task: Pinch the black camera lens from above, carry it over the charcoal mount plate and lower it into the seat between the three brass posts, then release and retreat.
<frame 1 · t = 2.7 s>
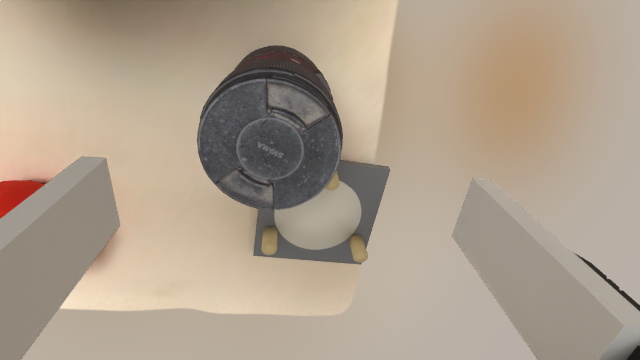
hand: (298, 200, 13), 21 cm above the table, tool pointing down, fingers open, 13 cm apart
camera lens: (278, 86, 31), on the table
mount: (317, 210, 38), on the table
tomato: (49, 213, 35), on the table
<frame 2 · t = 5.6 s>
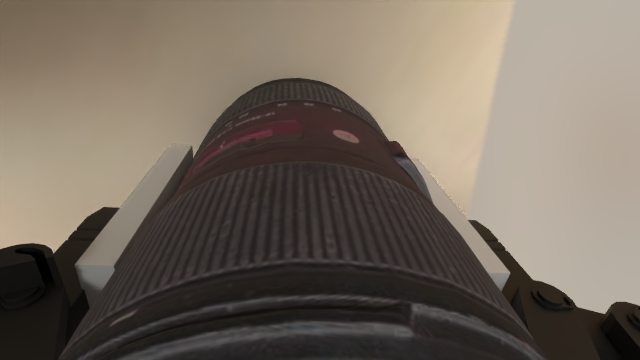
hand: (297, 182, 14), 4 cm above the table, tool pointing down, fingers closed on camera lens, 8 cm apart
camera lens: (293, 144, 17), on the table, touching gripper
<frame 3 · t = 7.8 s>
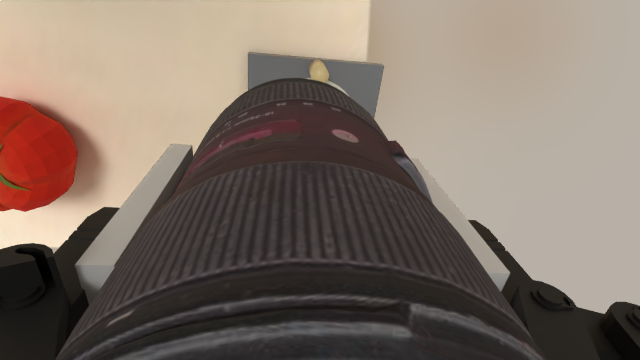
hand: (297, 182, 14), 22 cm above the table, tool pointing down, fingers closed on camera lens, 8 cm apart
camera lens: (293, 144, 17), point 18 cm above the table, touching gripper
mount: (311, 121, 36), on the table
tomato: (34, 140, 34), on the table
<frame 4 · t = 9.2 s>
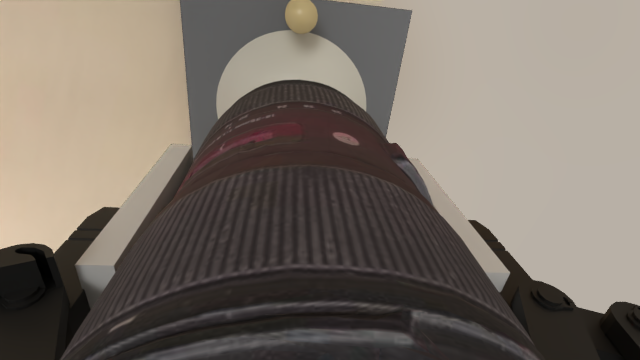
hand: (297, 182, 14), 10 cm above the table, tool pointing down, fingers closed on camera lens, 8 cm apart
camera lens: (293, 145, 17), point 6 cm above the table, touching gripper
mount: (292, 107, 22), on the table
when the fingers open (6 cm above the table, at t = 10.4 s): camera lens drops 2 cm, resting on mount.
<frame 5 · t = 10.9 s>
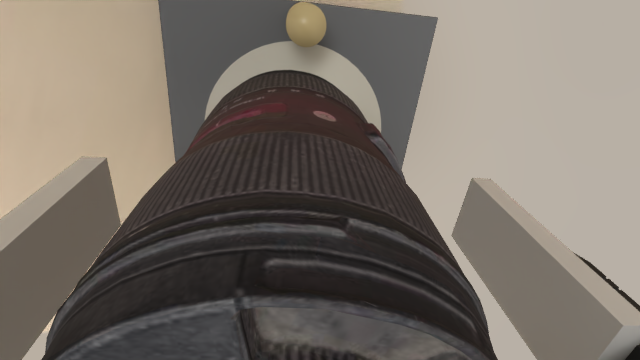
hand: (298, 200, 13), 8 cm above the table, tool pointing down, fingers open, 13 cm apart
camera lens: (287, 132, 19), point 1 cm above the table, touching mount
mount: (294, 129, 19), on the table
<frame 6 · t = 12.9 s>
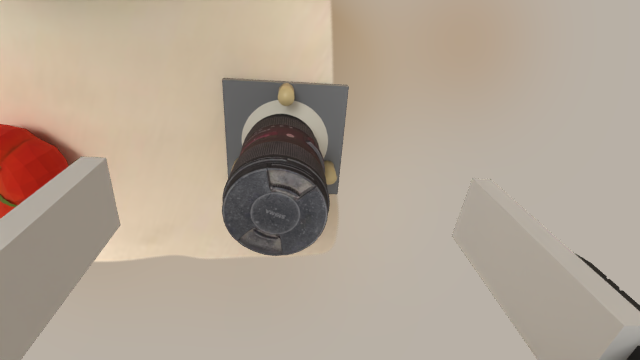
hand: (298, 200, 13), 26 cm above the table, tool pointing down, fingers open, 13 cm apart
camera lens: (281, 141, 38), point 1 cm above the table, touching mount
mount: (285, 139, 38), on the table
tomato: (33, 162, 38), on the table
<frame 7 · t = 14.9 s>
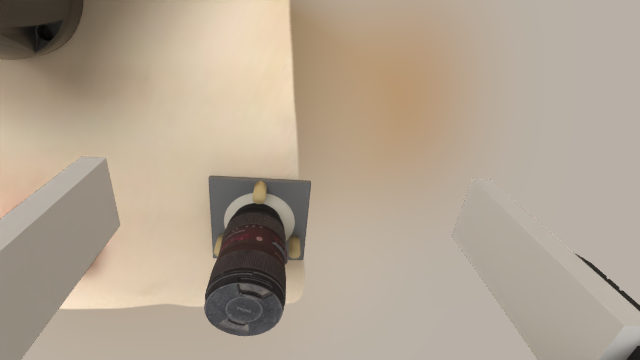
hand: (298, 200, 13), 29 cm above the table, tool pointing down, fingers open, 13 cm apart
camera lens: (256, 221, 46), point 1 cm above the table, touching mount
mount: (260, 219, 47), on the table
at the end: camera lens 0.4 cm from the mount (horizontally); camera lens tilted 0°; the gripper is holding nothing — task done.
